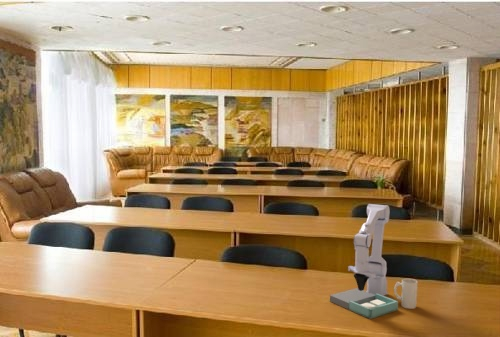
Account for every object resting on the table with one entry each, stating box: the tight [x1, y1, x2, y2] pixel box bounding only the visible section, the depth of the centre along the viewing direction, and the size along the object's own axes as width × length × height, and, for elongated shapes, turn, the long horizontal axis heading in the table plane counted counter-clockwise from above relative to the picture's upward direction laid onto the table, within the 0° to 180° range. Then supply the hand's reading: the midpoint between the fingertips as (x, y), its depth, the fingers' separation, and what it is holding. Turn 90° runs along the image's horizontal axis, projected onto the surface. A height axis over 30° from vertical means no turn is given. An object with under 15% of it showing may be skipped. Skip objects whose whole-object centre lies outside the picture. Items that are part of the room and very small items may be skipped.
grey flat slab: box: [329, 287, 375, 311], centre depth 222 cm, size 18×12×3 cm, turn 124°
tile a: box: [370, 299, 386, 307], centre depth 214 cm, size 5×5×2 cm
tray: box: [348, 293, 399, 320], centre depth 212 cm, size 18×12×4 cm
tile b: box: [360, 303, 376, 309], centre depth 210 cm, size 5×5×2 cm
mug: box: [393, 277, 418, 310], centre depth 216 cm, size 10×7×12 cm, turn 71°
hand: (361, 289), depth 213 cm, fingers closed
